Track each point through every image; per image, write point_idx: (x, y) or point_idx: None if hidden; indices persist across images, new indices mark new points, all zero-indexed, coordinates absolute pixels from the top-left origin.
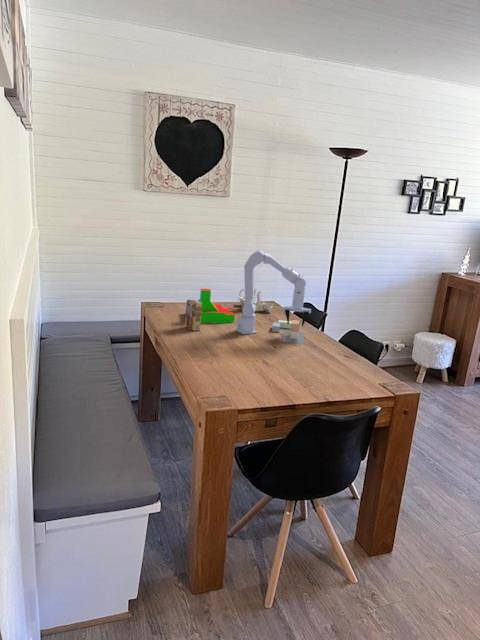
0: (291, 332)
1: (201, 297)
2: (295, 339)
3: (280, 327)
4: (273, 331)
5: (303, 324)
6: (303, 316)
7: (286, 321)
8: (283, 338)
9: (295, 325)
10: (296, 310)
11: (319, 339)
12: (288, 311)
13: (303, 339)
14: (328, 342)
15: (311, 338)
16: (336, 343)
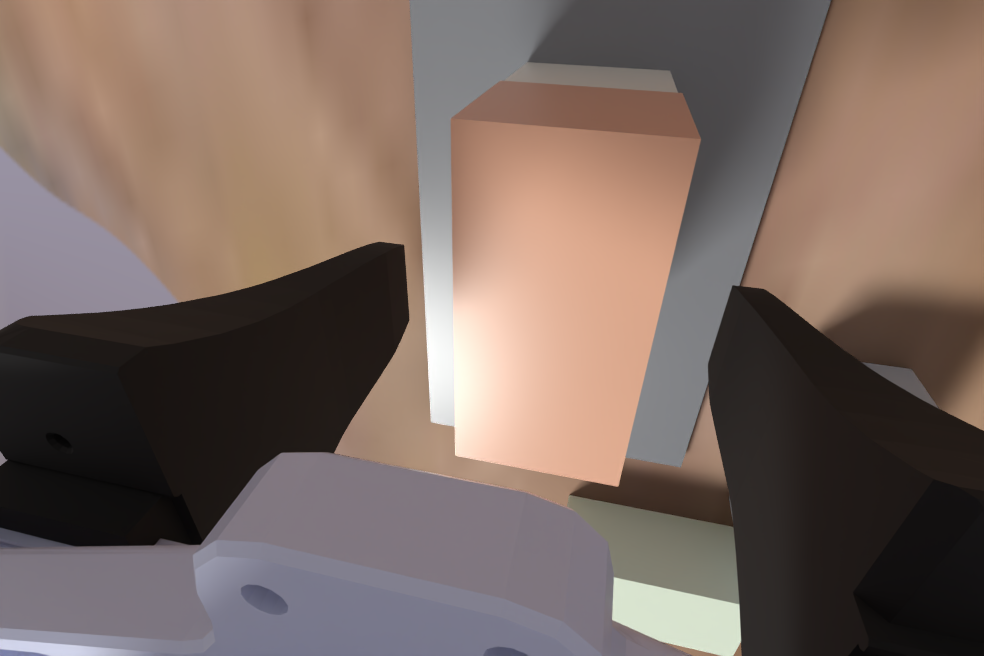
0: (660, 89)
1: None
2: (569, 35)
3: (710, 534)
4: (893, 378)
5: (356, 251)
6: (264, 390)
7: (632, 617)
8: (822, 17)
9: (571, 117)
10: (482, 510)
11: (231, 213)
12: (948, 653)
13: (428, 85)
14: (100, 109)
15: (330, 230)
16: (6, 95)
